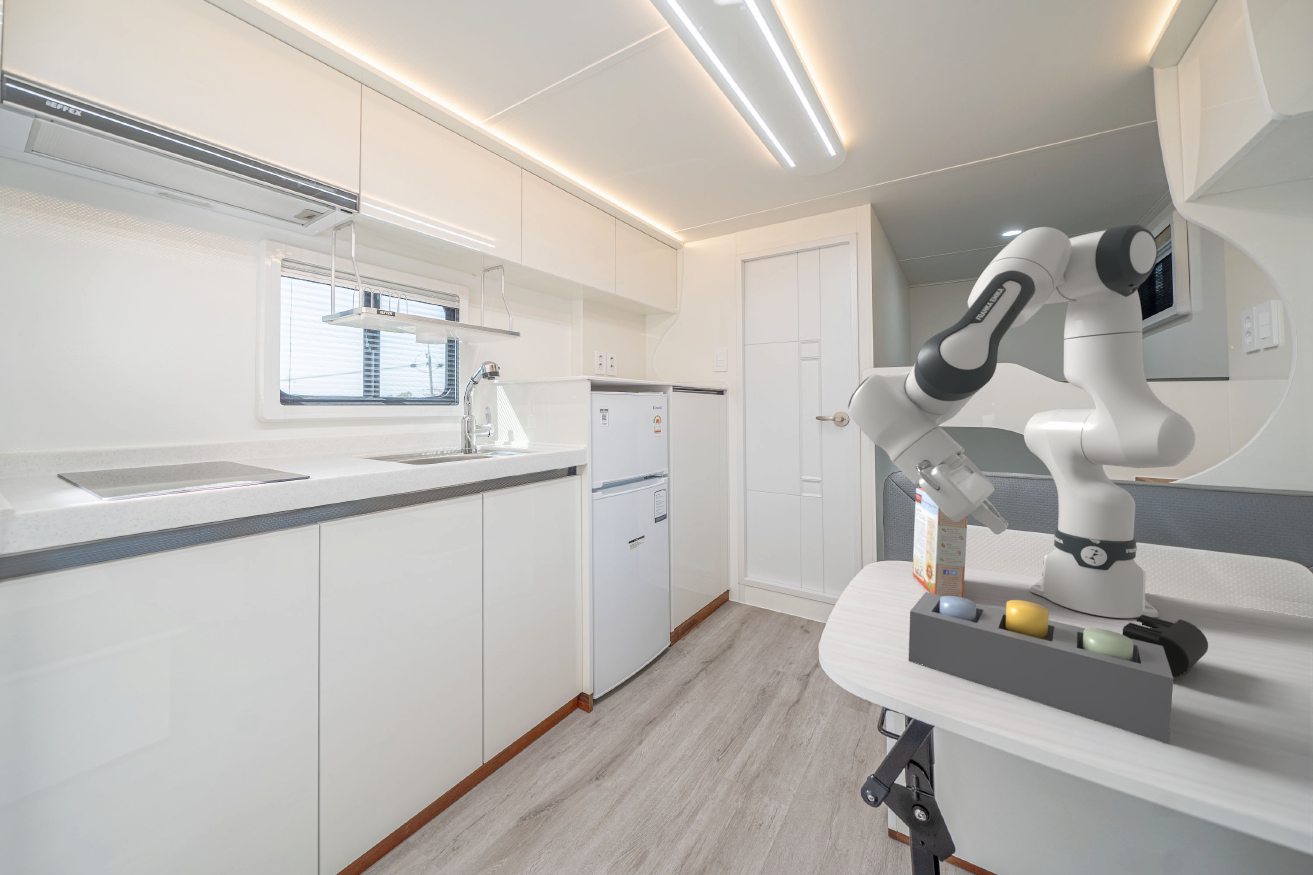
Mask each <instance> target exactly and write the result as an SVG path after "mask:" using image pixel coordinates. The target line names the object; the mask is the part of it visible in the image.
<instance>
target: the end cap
mask: <svg viewBox="0 0 1313 875" xmlns="http://www.w3.org/2000/svg"><path fill="white" fill-rule="evenodd" d="M1136 622H1139V623H1141V624H1136V623H1133V622H1128V623H1127V624H1125V625H1124V626H1123V628H1122V635H1124V636H1126V637H1128V638H1130V639H1134V640H1138V641H1143V642H1147V643H1152V644H1156V645H1160V646H1163V648H1164V651H1165V654H1166V657H1167V660H1168V663H1169V666H1170V670H1171V673H1172V676H1173V678H1178V677H1181V676H1183V675H1185V674H1186V673H1187V672H1188V671H1190V669H1191V668H1192V667H1193V666H1194V665H1195V664H1196V663H1197V662H1198V661H1200V659H1201V658H1203V657H1204V655H1206V654H1207V652H1208V649H1209V642H1208V639H1207V637H1206V636H1205V634H1204V632H1203V631H1201V629H1200V628H1198V627H1197V626H1196V625H1194V624H1192V623H1191V622H1189V621H1187V620H1184V619H1178V620H1177V621H1176V622H1171V621H1168V620H1164V619H1160V618H1158V617H1149V616H1146V615H1141V616H1139V617H1136Z"/></svg>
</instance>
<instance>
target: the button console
mask: <svg viewBox="0 0 1313 875" xmlns="http://www.w3.org/2000/svg"><path fill="white" fill-rule="evenodd" d="M941 597H943V596H941V595H937V594H932V593H930V592H929V591H928V592H927V591H926V592H924V593H923V594H922V596H921V598H919V600H918V601H917V602H915V604H914V605H913V607H912V608H911V609H910V610H909V632H908V633H909V638H908V662H911V661H913V662H912V663H914V662H916V663H915V664H917V663H919V664H918V665H920V664H923V665H925V666H924V667H926V666H928V667H927V668H930V667H931V668H930V669H933V670H936V669H937V670H936V671H940V672H942V671H943V673H945V672H946V674H949V675H951V676H955V677H959V678H962V679H965V680H967V681H971V682H974V683H977V684H979V685H984V686H987V687H989V688H992V689H995V690H998V691H1002V692H1006V693H1009V694H1012V695H1015V696H1017V697H1021V698H1024V699H1027V700H1030V701H1033V702H1037V703H1039V704H1043V705H1046V706H1049V707H1053V708H1056V709H1059V710H1061V711H1064V712H1068V713H1071V714H1074V715H1076V716H1077V715H1078V716H1080V717H1084V718H1087V719H1090V720H1093V721H1097V722H1100V723H1103V724H1105V725H1108V726H1112V727H1115V728H1118V729H1121V730H1125V731H1128V732H1130V733H1133V734H1136V735H1140V736H1142V737H1143V736H1144V737H1145V738H1149V739H1153V740H1155V741H1159V742H1162V743H1164V744H1168V745H1169V744H1170V731H1171V718H1172V717H1171V715H1172V707H1173V706H1172V703H1173V691H1174V689H1173V688H1174V677H1173V676H1172V673H1171V670H1170V666H1169V663H1168V660H1167V657H1166V654H1165V651H1164V648H1163V646H1160V645H1156V644H1152V643H1147V642H1143V641H1138V640H1134V639H1131V640H1132V641H1133V658H1132V662H1131V661H1127V660H1123V659H1119V658H1115V657H1111V656H1107V655H1103V654H1099V653H1095V652H1091V651H1087V650H1083V632H1084V629H1087V628H1086V627H1082V626H1081V627H1080V626H1076V625H1073V624H1069V623H1063V622H1058V621H1055V620H1049V619H1048V636H1047V637H1046V638H1043V639H1039V638H1035V637H1031V636H1027V635H1023V634H1019V633H1015V632H1011V631H1009V630H1008V629H1007V628H1006V609H1002V608H996V607H992V606H989V605H984V604H980V603H975V602H974V603H975V604H976V623H975V622H971V621H967V620H963V619H959V618H955V617H951V616H947V615H943V614H939V613H940V598H941ZM923 665H922V666H923Z"/></svg>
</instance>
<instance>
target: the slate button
mask: <svg viewBox="0 0 1313 875" xmlns="http://www.w3.org/2000/svg"><path fill="white" fill-rule="evenodd" d="M976 604H977V603H976ZM976 604H975V602H974V601H973V600H971V599H969V598H965V597H963V598H962V597H957V596H943V597H941V598H940V613H939V614H943V615H947V616H951V617H955V618H959V619H963V620H967V621H971V622H975V623H976Z"/></svg>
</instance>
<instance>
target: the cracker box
mask: <svg viewBox="0 0 1313 875" xmlns="http://www.w3.org/2000/svg"><path fill="white" fill-rule="evenodd" d="M914 506H915V508H914V526H913V527H914V529H913V530H914V531H913V532H914V534H913V555H912V556H913V557H912V576H913V577H914V578H915V579H916V580H917V581H918V582H919V584H921V585H922V587H923V588H925V589H926V591H928V593H932V594H937V595H941V596H957V597H962V598H964V594H965V591H964V590H965V571H966V553H967V552H966V551H967V550H966V549H967V531H968V516H966V517H965V518H963V519H962V520H960V521H959V522H955V521H953V520H951V519H950V518H949V517H948V516H946V515H945V514H944V512H943V511H942V510H941V509H940V508H939V507H938V506H937V505H936V504H935V503H934V502H933V500H932V499H931V498H930V497H929V496H928V495H927V494H926V493H925V491H924V490H923V489H922V487H916V488H915V505H914Z"/></svg>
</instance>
